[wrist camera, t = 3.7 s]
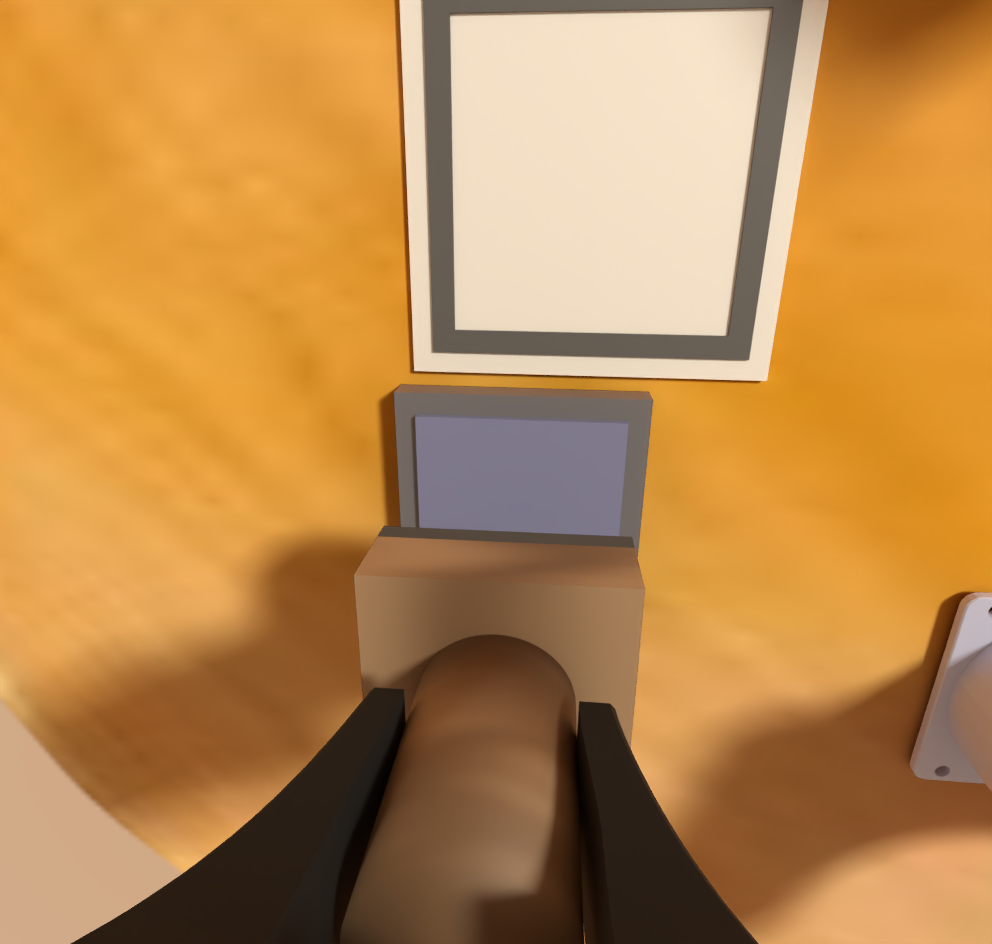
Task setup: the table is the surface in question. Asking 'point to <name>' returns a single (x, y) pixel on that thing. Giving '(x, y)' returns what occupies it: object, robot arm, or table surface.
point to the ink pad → (522, 459)
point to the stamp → (488, 726)
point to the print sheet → (603, 181)
